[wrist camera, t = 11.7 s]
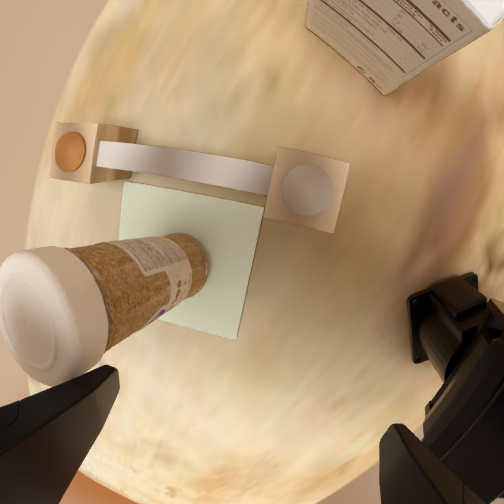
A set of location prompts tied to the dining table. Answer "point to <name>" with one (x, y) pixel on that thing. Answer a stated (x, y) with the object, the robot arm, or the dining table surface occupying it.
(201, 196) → the pad
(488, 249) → the dining table surface
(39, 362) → the sprinkles bottle
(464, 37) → the supplement box
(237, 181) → the handrail
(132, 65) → the dining table surface
